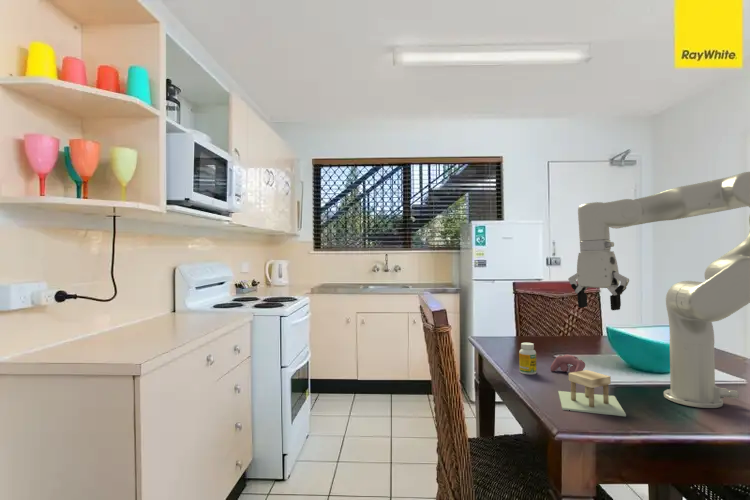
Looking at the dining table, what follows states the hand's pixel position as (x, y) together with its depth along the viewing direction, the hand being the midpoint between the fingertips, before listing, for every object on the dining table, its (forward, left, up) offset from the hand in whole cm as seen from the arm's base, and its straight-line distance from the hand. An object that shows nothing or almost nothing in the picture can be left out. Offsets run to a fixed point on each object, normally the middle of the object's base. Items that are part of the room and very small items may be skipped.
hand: (598, 308), depth 118 cm
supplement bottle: (+19, -17, -24) cm, 35 cm away
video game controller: (+6, -21, -24) cm, 33 cm away
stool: (+4, +9, -23) cm, 25 cm away
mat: (+4, +9, -24) cm, 26 cm away
